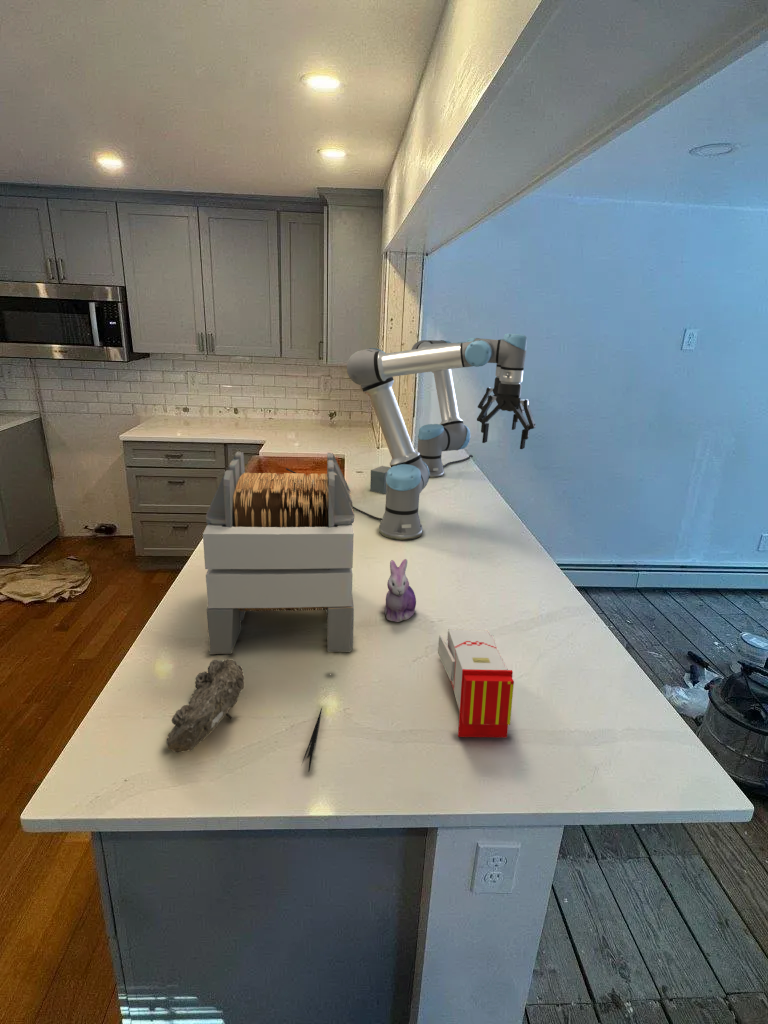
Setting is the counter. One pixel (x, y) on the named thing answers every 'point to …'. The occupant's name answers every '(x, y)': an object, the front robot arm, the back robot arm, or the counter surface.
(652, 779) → the counter surface
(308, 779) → the counter surface
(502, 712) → the toy
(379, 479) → the block
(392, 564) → the figurine
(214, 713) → the fossil
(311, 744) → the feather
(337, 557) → the record crate stand
